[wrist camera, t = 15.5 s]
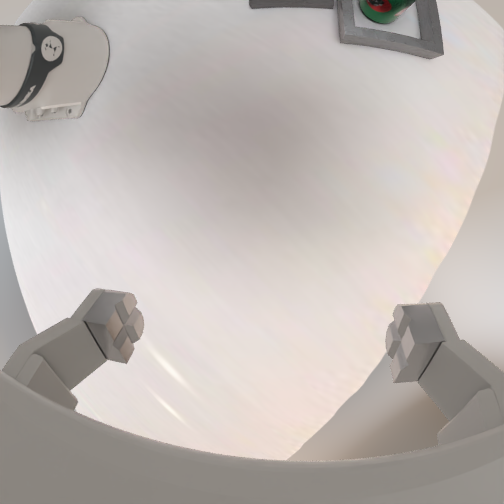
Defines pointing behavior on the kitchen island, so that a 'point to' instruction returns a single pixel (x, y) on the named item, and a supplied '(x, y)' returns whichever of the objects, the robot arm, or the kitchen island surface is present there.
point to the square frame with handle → (350, 34)
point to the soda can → (384, 9)
